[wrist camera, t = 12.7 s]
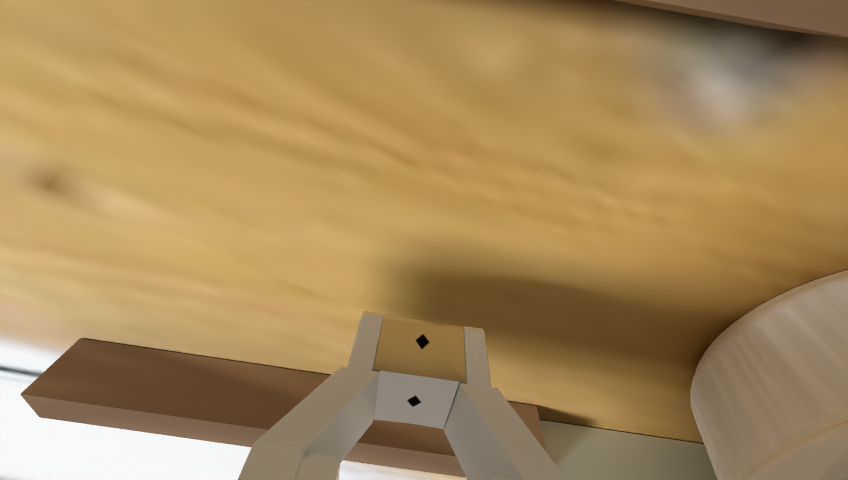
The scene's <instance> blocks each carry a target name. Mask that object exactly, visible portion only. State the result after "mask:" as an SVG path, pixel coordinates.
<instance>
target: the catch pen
mask: <svg viewBox="0 0 848 480" xmlns="http://www.w3.org/2000/svg"><path fill="white" fill-rule="evenodd" d="M540 424H541V429H542V434H543V439H544V444H545V449H546V453H547V454H548V455H549V456H550V458H551V459H552V460H553V462H554V463H555V464H556V466H557V467H558V468H559V470H560V471H561V472H562V474H563V475H564V476H565V477H566V479H567V480H718V479H717V477H716V474H715V471H714V469H713V466H712V463H711V461H710V458H709V455H708V453H707V450H706V447H705V445H704V444H700V443H693V442H686V441H679V440H673V439H666V438H659V437H652V436H645V435H639V434H632V433H625V432H618V431H611V430H605V429H598V428H591V427H584V426H577V425H571V424H564V423H557V422H550V421H543V420H540Z"/></svg>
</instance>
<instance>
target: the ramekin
mask: <svg viewBox="0 0 848 480" xmlns="http://www.w3.org/2000/svg"><path fill="white" fill-rule="evenodd" d="M690 396H691V398H690V404H691V409H692V411H693V415H694V418H695V421H696V424H697V426H698V429H699V432H700V434H701V437H702V439H703V442H704V445H705V447H706V450H707V453H708V455H709V458H710V461H711V463H712V466H713V469H714V471H715V474H716V477H717V479H718V480H848V270H845V271H842V272H838V273H835V274H831V275H828V276H825V277H822V278H819V279H816V280H813V281H811V282H808V283H805V284H803V285H800V286H798V287H796V288H793V289H791V290H789V291H787V292H784V293H782V294H780V295H778V296H776V297H774V298H772V299H770V300H768V301H767V302H765V303H763V304H761V305H759V306H758V307H756V308H755V309H753V310H751V311H750V312H748V313H747V314H745V315H744V316H742V317H741V318H739V319H738V320H737V321H735V322H734V323H733V324H731V325H730V326H729V327H728V328H727V329H725V330H724V331H723V332H722V333H721V334H720V335H719V336H718V337H717V338H716V339H715V340H714V341H713V342H712V343H711V344H710V346H709V347H708V348H707V350H706V351H705V353H704V354H703V356H702V358H701V360H700V361H699V364H698V366H697V369H696V373H695V375H694V377H693V380H692V386H691V390H690Z"/></svg>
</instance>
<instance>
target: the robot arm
mask: <svg viewBox="0 0 848 480" xmlns="http://www.w3.org/2000/svg"><path fill="white" fill-rule="evenodd" d="M373 420H382V421H392V422H401V423H410V424H416V425H422V426H429V427H435V428H441V429H444V432H445V434H446V436H447V439H448V441H449V443H450V445H451V447H452V449H453V451H454V453H455V455H456V457H457V459H458V461H459V463H460V465H461V467H462V469H463V471H464V473H465V475H466V477H467V479H468V480H567V479H566V477H565V476H564V475H563V474H562V472H561V471H560V470H559V468H558V467H557V466H556V464H555V463H554V462H553V460H552V459H551V458H550V456H549V455H548V454H547V453H546V451H545V450H544V449H543V447H542V446H541V445H540V443H539V442H538V441H537V439H536V438H535V437H534V435H533V434H532V433H531V432H530V430H529V429H528V428H527V426H526V425H525V424H524V422H523V421H522V420H521V418H520V417H519V416H518V414H517V413H516V412H515V411H514V409H513V408H512V407H511V405H510V404H509V403H508V401H507V400H506V399H505V397H504V396H503V395H502V393H501V392H500V391H499V390H498V388H493V387H491V381H490V372H489V364H488V356H487V347H486V339H485V332H484V330H483V329H482V328H475V327H467V326H461V325H453V324H446V323H438V322H431V321H424V320H423V321H421V320H415V319H409V318H403V317H398V316H392V315H386V314H378V313H372V312H366V311H363V313H362V315H361V318H360V322H359V326H358V330H357V333H356V337H355V341H354V345H353V349H352V352H351V356H350V360H349V364H348V367H340V368H339V369H338V370H337V371H335V372H334V373H333V374H332V375H331V376H330V377H329V378H327V379H326V380H325V381H324V382H323V383H322V384H321V385H319V386H318V387H317V388H316V389H315V390H314V391H313V392H311V393H310V394H309V395H308V396H307V397H306V398H305V399H303V400H302V401H301V402H300V403H299V404H298V405H297V406H295V407H294V408H293V409H292V410H291V411H290V412H289V413H287V414H286V415H285V416H284V417H283V418H282V419H281V420H279V421H278V422H277V423H276V424H275V425H274V426H273V427H272V428H270V429H269V430H268V431H267V432H266V433H265V434H264V435H262V436H261V437H260V438H259V439H258V440H257V441H256V442H254V444H253V446H252V448H251V451H250V453H249V455H248V457H247V460H246V462H245V464H244V467H243V469H242V471H241V474H240V476H239V478H238V480H339V467H340V463H341V462H342V460H343V459H344V458H345V457H346V455H347V454H348V453H349V452H350V450H351V449H352V448H353V447H354V445H355V444H356V443H357V441H358V440H359V439H360V438H361V436H362V435H363V434H364V433H365V431H366V430H367V429H368V428H369V426H370V425H371V424H372V423H373Z"/></svg>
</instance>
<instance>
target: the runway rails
mask: <svg viewBox="0 0 848 480" xmlns="http://www.w3.org/2000/svg"><path fill="white" fill-rule="evenodd" d="M612 1H617V2H623V3H628V4H634V5H639V6H645V7H650V8H656V9H661V10H667V11H672V12H678V13H683V14H689V15H694V16H700V17H706V18H711V19H717V20H722V21H728V22H733V23H739V24H744V25H750V26H755V27H762V28H770V29H778V30H787V31H795V32H803V33H811V34H819V35H827V36H835V37H843V38H848V0H612ZM330 376H331V375H325V374H318V373H311V372H305V371H298V370H291V369H284V368H278V367H271V366H264V365H257V364H251V363H244V362H237V361H230V360H224V359H217V358H210V357H203V356H197V355H190V354H183V353H176V352H170V351H163V350H156V349H149V348H142V347H136V346H129V345H122V344H115V343H109V342H102V341H95V340H88V339H82V338H80V339H79V340H78V341H77V342H76V343H75V344H74V345H73V346H71V347H70V348H69V349H68V350H67V351H66V352H65V353H64V354H63V355H62V356H61V357H60V358H59V359H58V360H56V361H55V362H54V363H53V364H52V365H51V366H50V367H49V368H48V369H47V370H46V371H45V372H44V373H43V374H41V375H40V376H39V377H38V378H37V379H36V380H35V381H34V382H33V383H32V384H31V385H30V386H29V387H28V388H27V389H25V390H24V391H23V392H22V393H21V394H20V395H21V396H22V397H23V398H24V399H25V401H26V402H27V403H28V404H29V405H30V406H31V408H32V409H33V410H34V411H35V412H36V413H37V415H38V416H39V417H42V418H49V419H56V420H63V421H70V422H77V423H84V424H91V425H98V426H105V427H113V428H120V429H127V430H134V431H141V432H148V433H155V434H162V435H169V436H176V437H183V438H190V439H197V440H204V441H211V442H219V443H226V444H233V445H240V446H247V447H252V446H253V444H254V442H256V441H257V440H258V439H259V438H260V437H261V436H262V435H264V434H265V433H266V432H267V431H268V430H269V429H270V428H272V427H273V426H274V425H275V424H276V423H277V422H278V421H279V420H281V419H282V418H283V417H284V416H285V415H286V414H287V413H289V412H290V411H291V410H292V409H293V408H294V407H295V406H297V405H298V404H299V403H300V402H301V401H302V400H303V399H305V398H306V397H307V396H308V395H309V394H310V393H311V392H313V391H314V390H315V389H316V388H317V387H318V386H319V385H321V384H322V383H323V382H324V381H325V380H326V379H327V378H329V377H330ZM508 403H509V404H510V405H511V407H512V408H513V409H514V411H515V412H516V413H517V414H518V416H519V417H520V418H521V420H522V421H523V422H524V424H525V425H526V426H527V428H528V429H529V430H530V432H531V433H532V434H533V435H534V437H535V438H536V439H537V441H538V442H539V443H540V445H541V446H542V447H543V449H544V450H545V451H546V449H545V444H544V439H543V434H542V429H541V424H540V419H539V414H538V409H537V406H534V405H528V404H521V403H514V402H508ZM343 460H346V461H353V462H360V463H367V464H374V465H381V466H388V467H395V468H402V469H409V470H416V471H423V472H431V473H438V474H445V475H452V476H459V477H466V475H465V473H464V471H463V469H462V467H461V465H460V463H459V461H458V459H457V457H456V455H455V453H454V451H453V449H452V447H451V445H450V443H449V441H448V439H447V436H446V434H445V432H444V429H441V428H435V427H429V426H422V425H416V424H410V423H401V422H392V421H382V420H373V423H372V424H371V425H370V426H369V428H368V429H367V430H366V431H365V433H364V434H363V435H362V436H361V438H360V439H359V440H358V441H357V443H356V444H355V445H354V447H353V448H352V449H351V450H350V452H349V453H348V454H347V455H346V457H345V458H344V459H343ZM466 478H467V477H466Z"/></svg>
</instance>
